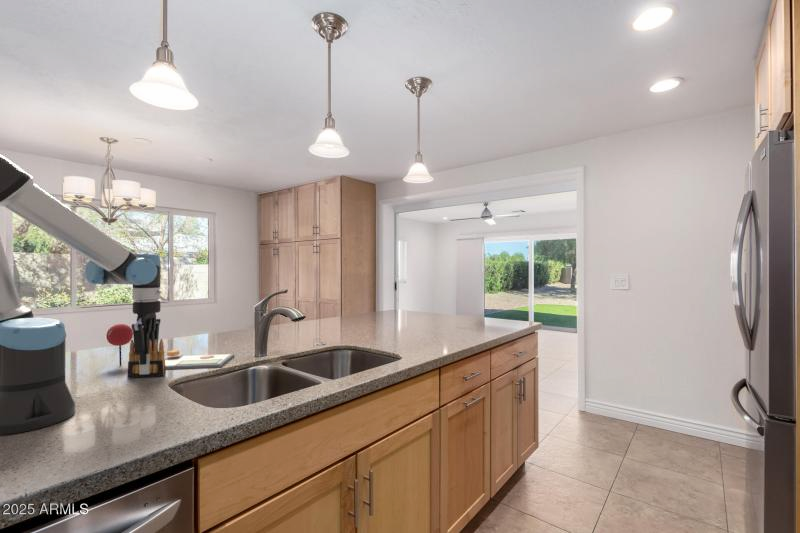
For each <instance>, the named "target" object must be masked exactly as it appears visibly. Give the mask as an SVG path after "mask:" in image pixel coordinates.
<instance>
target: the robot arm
mask: <svg viewBox="0 0 800 533" xmlns="http://www.w3.org/2000/svg"><path fill="white" fill-rule="evenodd" d="M0 207H4V208H6V209H7V210H10V211H11V212H12V213H14V214H16V215H17V216H18V217H21V218H22V219H24V220H25V221H26V222H28V223H30V224H32V225H33V226H35V227H37V228H38V229H40V230H41V231H42V232H45V233H46V234H48V235H49V236H51V237H53V238H54V239H56V240H57V241H59V242H60V243H62V244H64V245H65V246H67V247H69V248H70V249H72V250H73V251H75V252H76V253H78V254H80V255H81V256H82V257H85V258H86V259H88V260H89V261H88V262H86V265H85V269H84V270H85V271H84V275H85V278H86V281H87V282H88V283H90V284H91V285H102V286H103V285H132V300H133V302H132V314H134V315H135V314H136V315H137V318H136V323H132V324H131V326H130V327H131V329H132V331H133V337H132V338H133V342H134V348H135V354H136V355H139V375H143V374H150V354H148V345H149V339H150V340H151V342H152V351H153V346H154V341H155V339H156V340H157V343H158V344H159V334H160V325H161V320H162V319H161V318H157V315H156V314H157V313H160V312H161V301H160V300H161V293H162V290H161V269H162V266H161V256H160V255H159V254H157V253H140V252H139V253H133V252H132V251H131V250H128V248H125V247H124V246H123V245H122V244H120V243H119V242H117V241H116V240H114V239H113V238H112V237H110V236H109V235H108V234H106V233H105V232H103V231H102V230H100V229H99V228H98V227H96V226H95V225H94V224H92V223H90V222H89V221H88V220H86V219H85V218H83V217H82V216H80V215H79V214H78V213H76V212H75V211H73V209H71V208H69V207H68V206H66V205H65V204H64V203H62V202H61V201H60V200H58V199H57V198H55V197H53V195H51V194H49V193H48V192H47V191H45V190H44V189H42V188H41V187H39V186H38V185H37V184H35V183H34V179H33V176H32V175H31V174H29V173H28V172H26V171H25V170H23V169H22V168H21V167H20V166H18V165H17V164H15V163H14V162H12V161H11V160H9V159H8V158H7V157H6V156H4V155H2V154H1V153H0ZM7 258H8V257H7V255H6V251H5V248H4V245H3V242H2V240H1V237H0V436H2V435H12V434H19V433H26V432H29V431H30V432H31V431H34V430H38V429H42V428H46V427H49V426H51V425H52V426H53V425H55V424H58V423H61V422H63V421H65V420H67V419H70V418H72V416H74V415H75V414H76V402H75V400H74V399H73V396H72V393H71V391H70V389H69V386H68V385H67V383H66V338H67V333H66V326H65V324H64V322H63V321H61V320H59V319H56V318H49V317H34V314H33V310H32V308H30V307H28V306H25V305H23V304H22V303H21V300H20V296H19V294H18V289H17V287H16V283H15V281H14V277H13V274H12V271H11V268H10V265H9V262H8V259H7Z"/></svg>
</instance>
